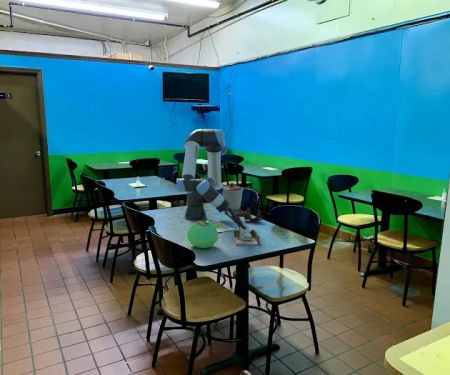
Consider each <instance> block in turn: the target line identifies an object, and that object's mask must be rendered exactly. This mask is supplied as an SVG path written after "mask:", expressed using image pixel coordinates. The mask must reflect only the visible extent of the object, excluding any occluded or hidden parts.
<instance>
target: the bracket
mask: <svg viewBox="0 0 450 375" xmlns="http://www.w3.org/2000/svg"><path fill="white" fill-rule="evenodd" d="M235 214H236V215H237V216H238V217H244V218H245V221H246V220H249V221H250V222H251V223H255V222H261V221H263V217H262V215H261V213H259V212H257V213H256V214H257V215H256V216H255V217H252V216H251V215H252V214H251V208H249V207H248V206H247V207H246V210H245V211H242V209H241V208H239V210H238V212H236V213H235Z"/></svg>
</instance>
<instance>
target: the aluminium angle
mask: <svg viewBox="0 0 450 375" xmlns="http://www.w3.org/2000/svg"><path fill="white" fill-rule="evenodd" d="M239 220H240V221H241V222H242V223H243V224H244V225H245V224H246V220H245V218H244V217H239ZM238 230H239V237H240V238H252V236H251V234H250V233H249V234H247V233H245V231H243V230H242V229H241V228H240V227H239V226H238Z"/></svg>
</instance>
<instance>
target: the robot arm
mask: <svg viewBox="0 0 450 375" xmlns="http://www.w3.org/2000/svg"><path fill="white" fill-rule="evenodd" d="M225 147H226V140H225V133H224V131H223V129H216V128H212V129H211V128H208V129H207V128H203V129H202V128H200V129H199V128H198V129H195V130H193V131H192V132H191V133H190V134H189V135H188V136H187V138H186V139H185V143H184V149H185V151H184V153H185V154H184V160H183V167H182V173H181V178H177V181H176V189H177V191H178V192H183V193H186V209H185V212H184V219H186V220H189V221H202V220H206V218H207V212H206V209H205V205H204V204H209V205H210V206H213V207H214V208H215V209H216V211H218V212H219V213H223V212H224V214H225V216H227V217H228V218H229V219H231V220H232V222H234V223H235V224H236V225H237V227H238V228H239V227H240V228H241V229H242V230H243V231H245V232H246V233H247V234H249V233H250V232H251V230H252V229H250V227H249V226H248V225H247V224H246V223H245V225H244V224H243V223H242V222H241V221H240V220H239V217H238V216H237V215H236V213H235V211H232V210H231V208H230V207H228V205H229V202H228V201H227V200H226V199H224V195H225V187H223V186H224V184H223V183H222V174H221V173H222V169H221V168H222V166H221V165H222V162H221V159H222V158H221V156H222V155H221V153H222V151H223V149H224V148H225ZM201 148H204V151H205V152H206V153H207V177H206V178H196V172H197V171H196V168H197V162H198V152H199V150H200V149H201Z"/></svg>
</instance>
